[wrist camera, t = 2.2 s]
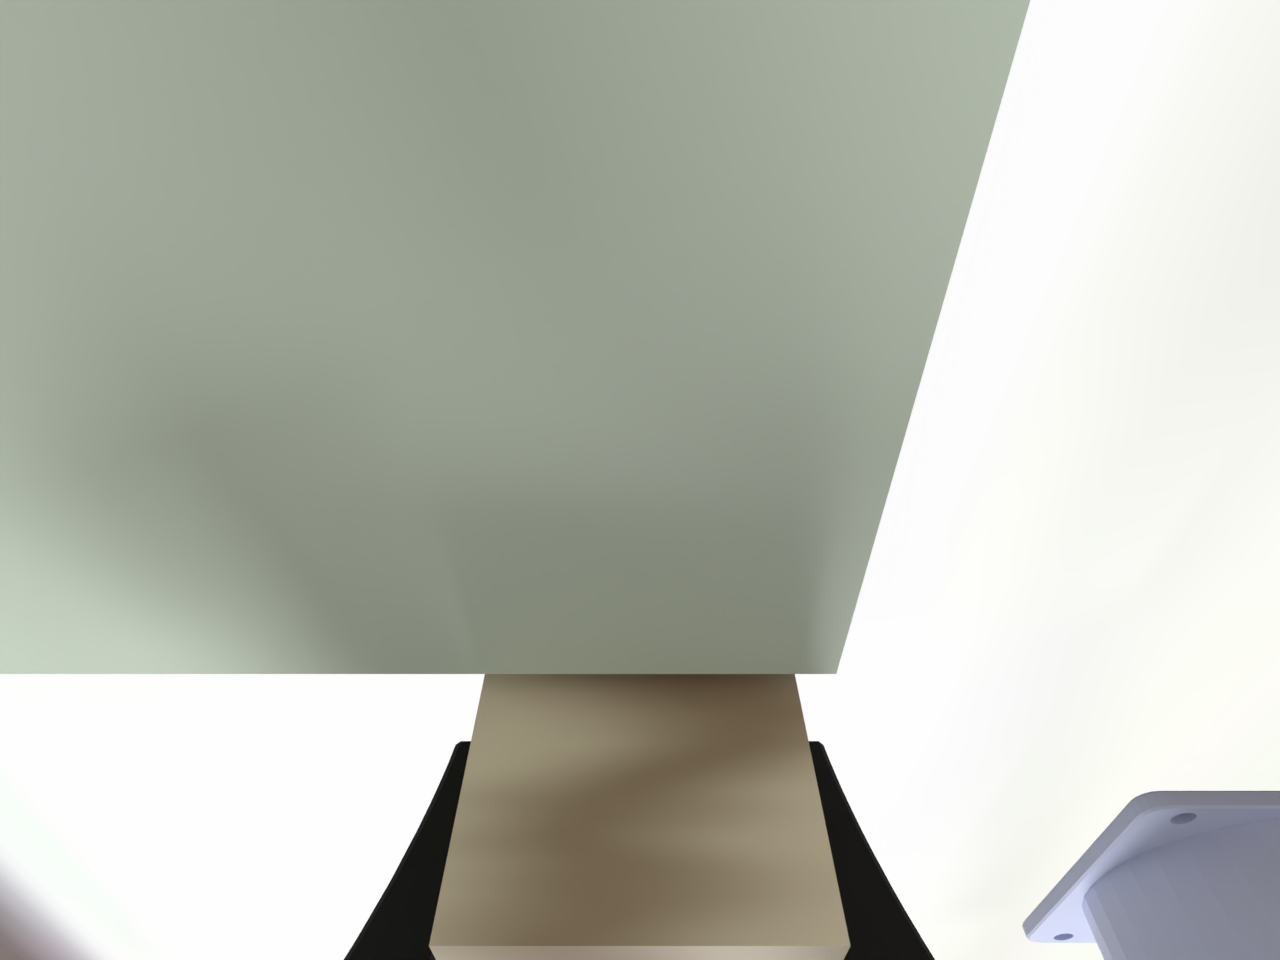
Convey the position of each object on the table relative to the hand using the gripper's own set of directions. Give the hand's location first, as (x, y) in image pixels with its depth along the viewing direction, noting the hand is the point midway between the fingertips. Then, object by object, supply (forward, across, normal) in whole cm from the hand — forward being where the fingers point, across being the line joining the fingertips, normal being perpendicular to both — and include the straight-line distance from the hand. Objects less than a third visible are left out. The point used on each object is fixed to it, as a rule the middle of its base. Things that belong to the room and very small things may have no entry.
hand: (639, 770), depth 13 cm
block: (+1, 0, 0) cm, 1 cm away
